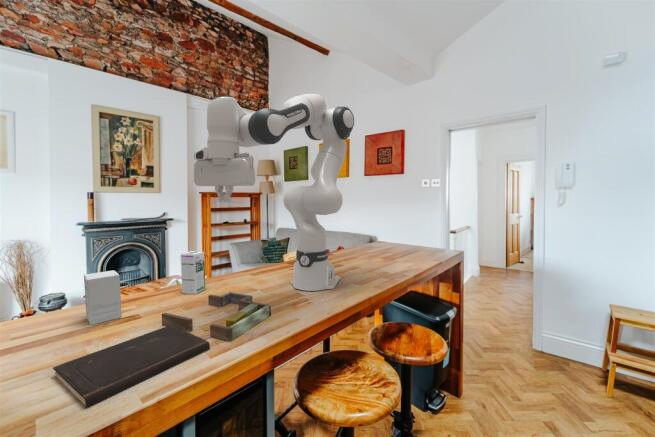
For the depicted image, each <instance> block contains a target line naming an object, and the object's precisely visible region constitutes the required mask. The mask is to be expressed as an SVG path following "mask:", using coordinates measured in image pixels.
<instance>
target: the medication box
mask: <svg viewBox="0 0 655 437" xmlns="http://www.w3.org/2000/svg"><path fill="white" fill-rule="evenodd" d="M256 311H258V304H249V305H248V306H246V307H245V308H243V309H242V310H240V311H239V310H238V311H237V312H236V313H234V314H233V315H231V316H229V317H228V318H226V319H225V326H227V327H230V326H232V325H233V324H235V323H237V322H239V321H240V320H242V319H244V318H246V317H247V316H249V315H251V314H253V313H254V312H256Z"/></svg>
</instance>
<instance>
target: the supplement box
mask: <svg viewBox="0 0 655 437" xmlns="http://www.w3.org/2000/svg"><path fill="white" fill-rule="evenodd" d="M120 277H121V276H120V274H119V273H118V272H117V271H116V270H107V271H100V272H93V273H86V274H83V284H84V297H85V298H84V301H85V318H86V319H87V322H88V323H90V324H89V326H93V325H96V324H99V323H100V324H101V323H106V322H108V321H113V320H117V319H121V318H123V317H122V316H123V315H122V296H121V278H120Z"/></svg>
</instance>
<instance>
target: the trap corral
mask: <svg viewBox="0 0 655 437" xmlns="http://www.w3.org/2000/svg"><path fill="white" fill-rule="evenodd" d="M207 299H208V306H213V307H219V308H222V307H224V306H225V305H226V306H227V305H229V304H230V303H231V304H236V305H237V304H238V312H239V311H240V310H242V309H243V308H245V307H246V306H248V305H249V304H258V311H256V312H254V313H253V314H251V315H249V316H247V317H246V318H244V319H242V320H240V321H239V322H237V323H235V324H233V325H232V326H230V327H227V326H226V325H222V324H218V323H210V325H209V329H210V331H209V334H210V335H209V336H210V338H214V339H217V340H222V341H225V342H230V343H231V341H233V340H234V339H236V338H237V337H239V336H240V335H242V334H244V333H245V332H247V331H249V330H250V329H251V328H253V327H255V326H256V325H258V324H259V323H261V322H263V321H264V320H266V319H268V318H269V317H271V316H272V305H271V304H266V303H262V302H261V303H260V302H255V301H254V302H253V295H248V294H243V293H237V292H232V291H231V292H226V293H225V294H222V295H217V294H216V295H215V294H208V295H207ZM161 325H162V326H164V327H167V326H169V325H172V326H175V327H177V328H179V329H182V330H184V331H186V332H188V333H190V332H191V331H193V330H194V329H193V318H191V317H186V316H182V315H177V314H172V313H169V312H162V313H161Z"/></svg>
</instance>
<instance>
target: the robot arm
mask: <svg viewBox="0 0 655 437" xmlns="http://www.w3.org/2000/svg"><path fill="white" fill-rule="evenodd" d="M206 111H207V112H206V129H207V132H208V137H207V141H206V144H207V145H206V146H205V147H203V148H201V149H200V150H197V151H195V152H194V153H193V160H195V162H194V164H193V182H194V184H195V185H196V186H197V187H214V190H215V192H216V193H215V194H217V198H218V202H221V203H225V202H227V203H229V202H231V196H232V195H233V194H232V193H233V191H234V187H244V186H245V187H249V186H250V187H251V186H252V187H253V186H254V185H255V183H256V172H255V165H254V163H255V162H254V160H255V159H254V157H253V155H252V154H250V153H249V152H240V147H242V148H252V147H259V146H264V145H266V146H269V145H274V144H277V143H278V142H280V141H281V139H282V138H283V137H284V136H285V135H286V133H287V132H289V131H290V130H298V129H303V128H304V132H305V134H306V136H307V137H308V138H309V139H310V140H311V141H312V140H313V141H321V140H322V145H321V148H320V149H319V150H318V152H317V154H316V156H315V159H314V160H313V163H312V165H311V167H310V175H311V177H312V179H313V180H314V182H313V184H312V185H298V186H293V187H291V188H290V187H289V188H288V189H287V190H286V191H285V192H284V195H283V205H284V207H285V209H286V210H287V211H288V212H289V213H290V215H291V216H292V218H293V221H294V224H295V228H296V239H297V240H296V241H297V242H296V243H297V244H296V245H297V249H296V251H295V252H296V253H295V257H296V259H295V260H296V261H295V262H294V263H293V269H292V270H293V271H292V279H291V280H289V283H290V285H292V286H293V288H294V289H297V290H301V291H308V292H309V291H310V292H313V291H314V292H315V291H323V290H334V289H335V288H336V286H337V284H338V283H339V281H341V280H340V278H341V277H340V276H338V275H335V266H334V265H333V264H332V262H331V261H330V260H329V255H330V250H331V249H329V248H327V232H326V231H327V230H326V229H325V228H324V226H323V225H322V224H321V223H320V222H319V220H318V218H317V215H319V216H327V215H332V214H336V213H338V212H339V211H340V210H341V208H342V206H343V194H342V191H341V190H340V189H339V188H338V186H337V180H338V177H339V174H340V171H341V169H342V167H343V165H344V162H345V158H346V156H347V155H346V154H347V150H348V147H347V143H346V141H345V140H347V139H349V137H350V136H351V133H352V131H353V129H354V125H355V117H354V116H355V115H354V114H353V112H352V110H351V109H350V108H349V107H348V106H336V107H334V108H333V107H332V108H328V109H327V104H326V101H325V99H324V97H323V96H322V95H321V94H318V93H304V94H300V95H296V96H292V97H290V98H289V99H287V100H286V101H284V102H283V104H282V106H281V109H280V110H278V109H275V108H270V107H265V108H261V109H259V110H257V111H254V112H251V113H250V112H247V111H246V110H245V109H244V108H242V107H241V105H239V103H238V102H237V99H236V98H235V97H233V96H228V95H225V96H224V95H222V96H217V97H213V98H212V99H210V100H209V102H208V104H207V110H206ZM223 190H225V192H224V191H223Z"/></svg>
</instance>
